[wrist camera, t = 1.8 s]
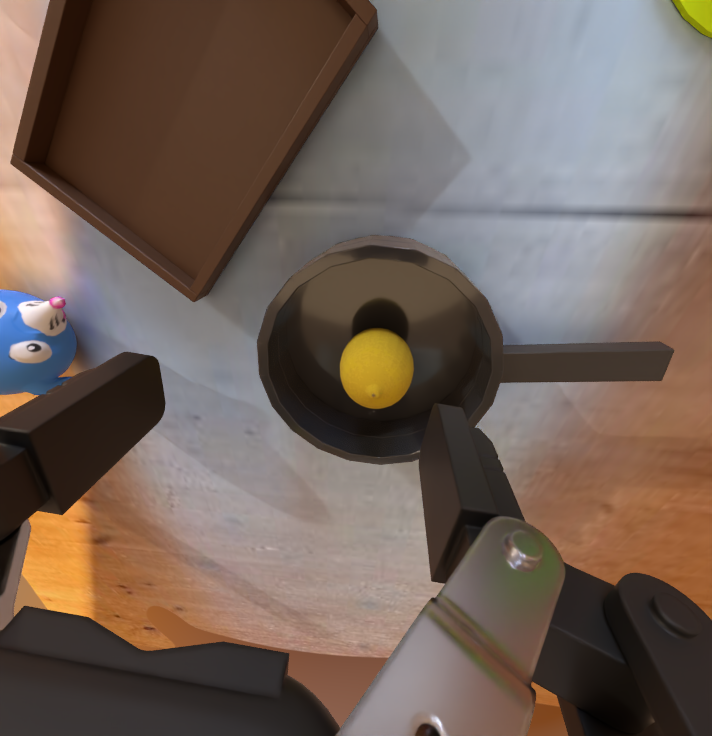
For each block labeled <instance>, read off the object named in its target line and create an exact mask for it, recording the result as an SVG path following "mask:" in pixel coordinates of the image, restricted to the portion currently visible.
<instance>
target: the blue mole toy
mask: <svg viewBox="0 0 712 736" xmlns="http://www.w3.org/2000/svg"><path fill="white" fill-rule="evenodd" d="M65 305H66V303H65V299H63V298H61V297H59V296H58V297H53V298H51V300H50V301H43V300H42V299H39V298H37V297H35V296H32V295H30V294H26V293H23V292H18V291H12V290H0V395H8V394H17V393H23V392H28V393H31V394H34V395H41V394H46V392H47V391H48V390H50V389H52V388H54V387H56V386H57V385H60V386H61V385H62V383H63V382H65V381H66V380H68V379H70V378H72V377H59V376H60V375H62V374H63V373H64V372H65V371H66V370H67V369H68V368H69V366H70V364H71V363H72V361H73V359H74V357H75V354H76V349H77V341H76V336H75V333H74V330H73V328H72V326H71V325H70V323H69V321H68V320H67V318H66V315H65V312H64V311H63V310H62V309H61V308H63V307H64V306H65Z"/></svg>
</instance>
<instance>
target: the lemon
mask: <svg viewBox="0 0 712 736" xmlns="http://www.w3.org/2000/svg"><path fill="white" fill-rule="evenodd" d="M413 372H414V365H413V357H412V354H411V351H410V349H409V347H408V345H407V344H406V342H405V341H404V340H403V339H402V338H401V337H400V336H399V335H398V334H396V333H395V332H392V331H390V330H388V329H383V328H371V329H367V330H364V331H362V332H360V333H358V334H357V335H355V336H354V337H353V338H352V339H351V340H350V341H349V342H348V344H347V346H346V347H345V349H344V351H343V353H342V357H341V361H340V377H341V381H342V384H343V387H344V389H345V391H346V392H347V394H348V395H349V397H350V398H351V399H353V400H354V401H355V402H356V403H358V404H360V405H361V406H364V407H367V408H373V409H380V408H385V407H388V406H391V405H393V404H395V403H396V402H398V401H399V400H400V399H401V398H402V397H403V396H404V395H405V393H406V392H407V390H408V388H409V386H410V384H411V381H412V377H413Z"/></svg>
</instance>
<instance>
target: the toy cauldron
mask: <svg viewBox="0 0 712 736" xmlns="http://www.w3.org/2000/svg"><path fill="white" fill-rule="evenodd" d="M672 1H673V2H674V4H675V6H676V7H677V9H678V10H679V12H680V14H681V15H682V17H683V18H684V19H685V20H686V21H687V22H689V23H690V24H691V25H692V26H693V27H695V28H696V29H697V30H698V31H699V32H700V33H702V34H703V35H705V36H708V37H710V38H712V0H672Z"/></svg>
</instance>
